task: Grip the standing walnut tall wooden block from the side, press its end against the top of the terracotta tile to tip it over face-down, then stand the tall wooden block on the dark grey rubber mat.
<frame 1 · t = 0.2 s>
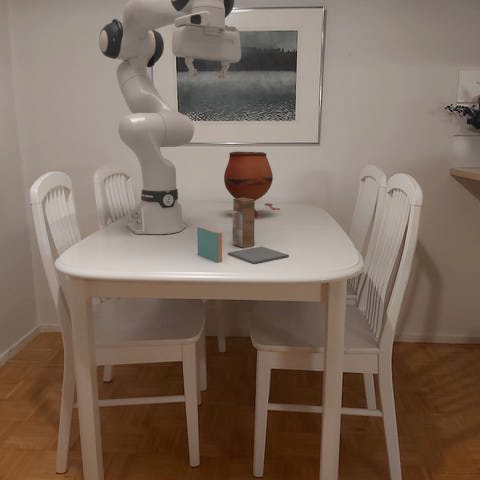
hand: (207, 77, 134), 48 cm above the table, tool pointing down, fingers open, 8 cm apart
tile: (209, 258, 134), on the table
tall wooden block: (243, 245, 148), on the table
rest mat: (258, 255, 136), on the table
smartphone: (245, 205, 226), on the table
goblet: (247, 216, 195), on the table
key: (272, 208, 216), on the table
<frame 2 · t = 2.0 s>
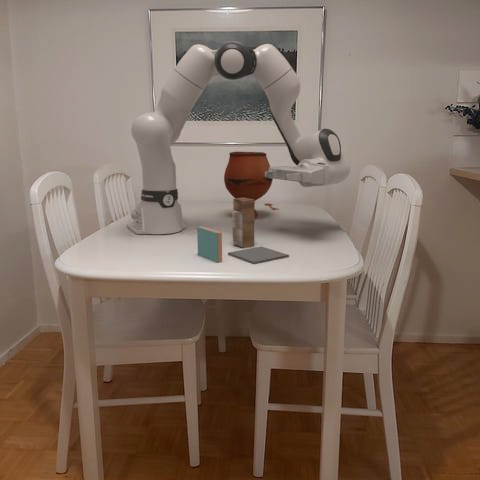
hand: (275, 175, 150), 20 cm above the table, tool horizontal, fingers open, 8 cm apart
nothing on the table moved.
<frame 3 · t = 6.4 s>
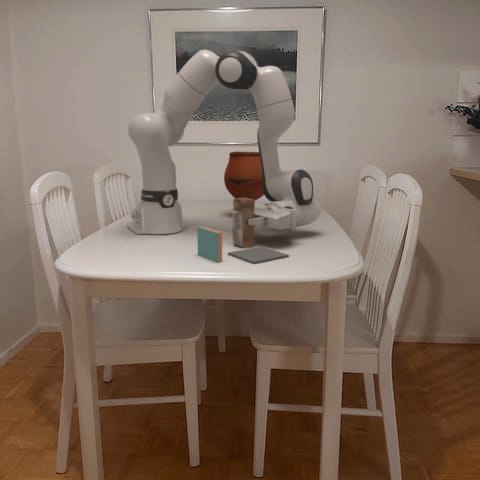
hand: (241, 220, 146), 8 cm above the table, tool horizontal, fingers closed on tall wooden block, 5 cm apart
tall wooden block: (243, 245, 148), on the table, touching gripper
everything else where it was.
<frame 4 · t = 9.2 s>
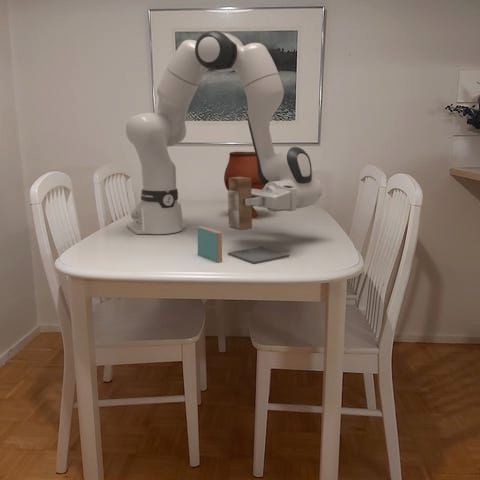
hand: (237, 201, 136), 15 cm above the table, tool horizontal, fingers closed on tall wooden block, 5 cm apart
tall wooden block: (240, 228, 138), point 7 cm above the table, touching gripper
everything else where it was.
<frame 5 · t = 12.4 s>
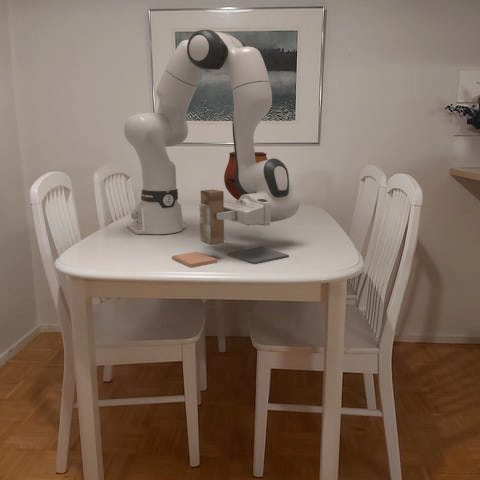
hand: (209, 214, 131), 12 cm above the table, tool horizontal, fingers closed on tall wooden block, 5 cm apart
tile: (207, 257, 133), on the table, tilted 90°
tall wooden block: (212, 242, 134), point 4 cm above the table, touching gripper
everything else where it was.
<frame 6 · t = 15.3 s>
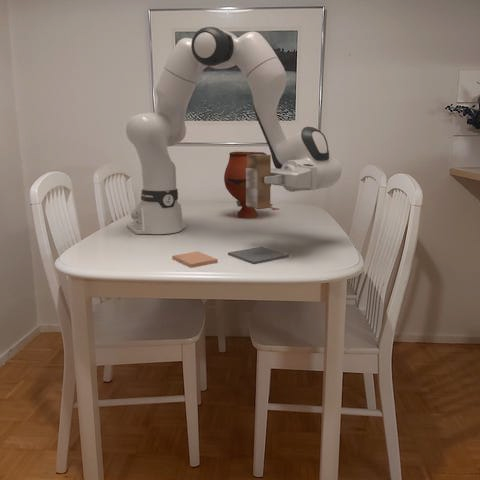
hand: (256, 179, 131), 21 cm above the table, tool horizontal, fingers closed on tall wooden block, 5 cm apart
tall wooden block: (258, 207, 133), point 13 cm above the table, touching gripper
everything else where it was.
when the fingers open (10 cm above the table, at t = 17.7 s): tall wooden block drops 1 cm, resting on rest mat.
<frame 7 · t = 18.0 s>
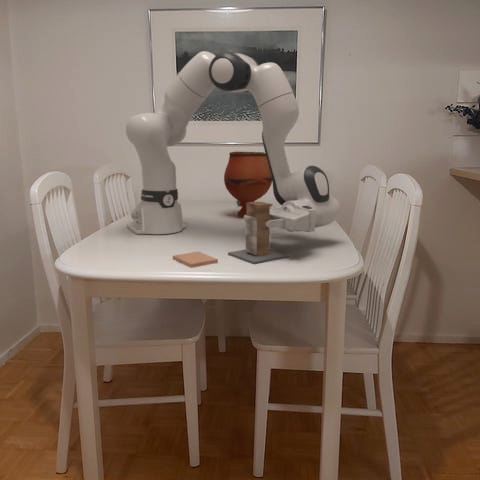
hand: (255, 221, 133), 10 cm above the table, tool horizontal, fingers open, 8 cm apart
tall wooden block: (257, 253, 136), point 1 cm above the table, touching rest mat
everything else where it was.
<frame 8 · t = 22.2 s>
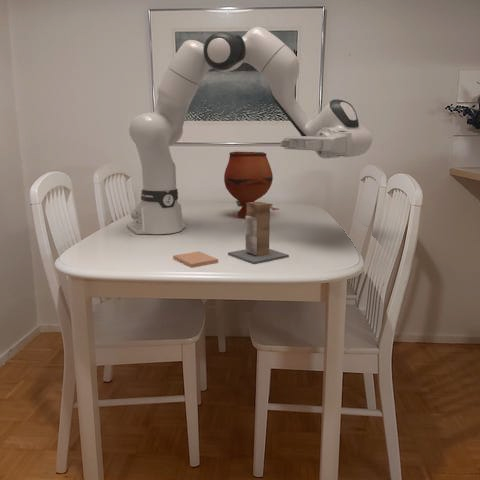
hand: (293, 144, 136), 30 cm above the table, tool horizontal, fingers open, 8 cm apart
nothing on the table moved.
at the end: tile tilted 90°; tall wooden block inside the target area on the rest mat (0.2 cm from its centre), point 0.6 cm above the rest mat's base; tall wooden block tilted 0° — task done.
